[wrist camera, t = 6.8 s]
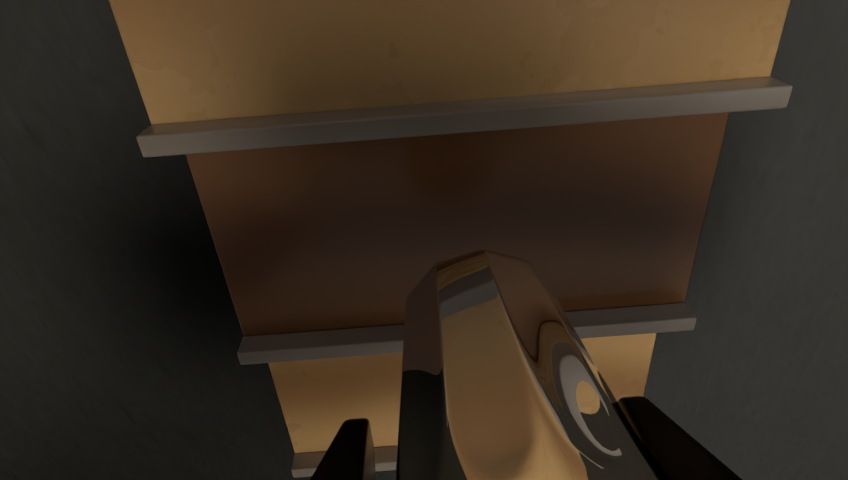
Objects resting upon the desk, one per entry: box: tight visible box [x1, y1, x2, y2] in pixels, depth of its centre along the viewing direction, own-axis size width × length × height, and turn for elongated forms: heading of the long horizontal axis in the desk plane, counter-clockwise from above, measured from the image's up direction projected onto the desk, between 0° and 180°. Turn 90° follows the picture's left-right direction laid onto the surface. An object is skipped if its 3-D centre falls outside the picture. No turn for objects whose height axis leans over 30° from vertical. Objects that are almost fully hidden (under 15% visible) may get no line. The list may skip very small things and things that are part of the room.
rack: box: [109, 0, 792, 478], centre depth 15 cm, size 22×14×4 cm, turn 4°
